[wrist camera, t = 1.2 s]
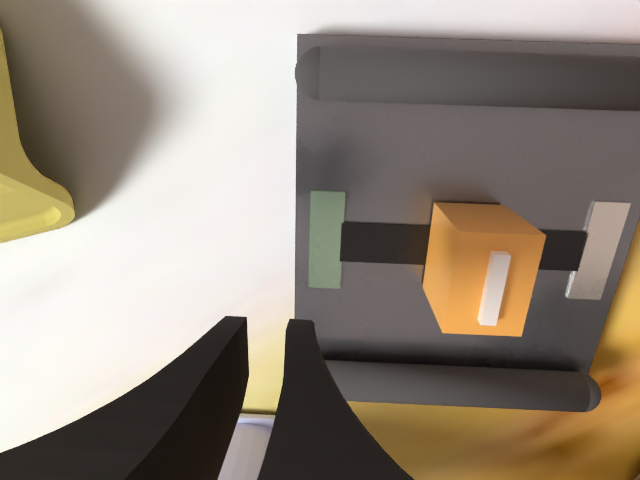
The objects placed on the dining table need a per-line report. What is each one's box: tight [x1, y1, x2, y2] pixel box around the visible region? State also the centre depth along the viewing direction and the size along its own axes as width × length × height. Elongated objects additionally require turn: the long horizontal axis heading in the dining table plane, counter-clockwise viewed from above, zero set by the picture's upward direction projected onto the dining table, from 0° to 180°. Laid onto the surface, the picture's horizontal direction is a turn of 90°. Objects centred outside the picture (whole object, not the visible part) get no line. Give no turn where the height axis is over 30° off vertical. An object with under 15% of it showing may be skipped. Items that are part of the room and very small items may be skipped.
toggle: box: [423, 202, 546, 337], centre depth 18 cm, size 4×3×4 cm
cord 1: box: [325, 360, 601, 412], centre depth 22 cm, size 2×16×2 cm, turn 88°
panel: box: [295, 34, 640, 375], centre depth 20 cm, size 18×16×1 cm
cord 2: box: [295, 46, 640, 111], centre depth 16 cm, size 2×16×2 cm, turn 89°
